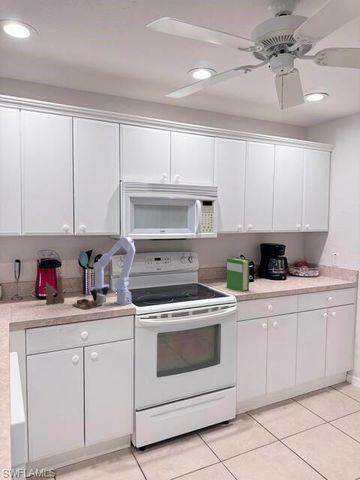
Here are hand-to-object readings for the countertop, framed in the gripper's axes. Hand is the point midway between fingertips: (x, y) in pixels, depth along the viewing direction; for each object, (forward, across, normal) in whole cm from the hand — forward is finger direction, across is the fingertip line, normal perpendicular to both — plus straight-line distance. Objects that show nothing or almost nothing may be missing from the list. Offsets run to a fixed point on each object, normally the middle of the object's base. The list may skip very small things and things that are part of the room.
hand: (99, 299), depth 234 cm
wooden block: (+2, +22, -18) cm, 28 cm away
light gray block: (+2, 0, 0) cm, 2 cm away
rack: (+1, +12, +3) cm, 12 cm away
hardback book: (+2, -97, +49) cm, 109 cm away
